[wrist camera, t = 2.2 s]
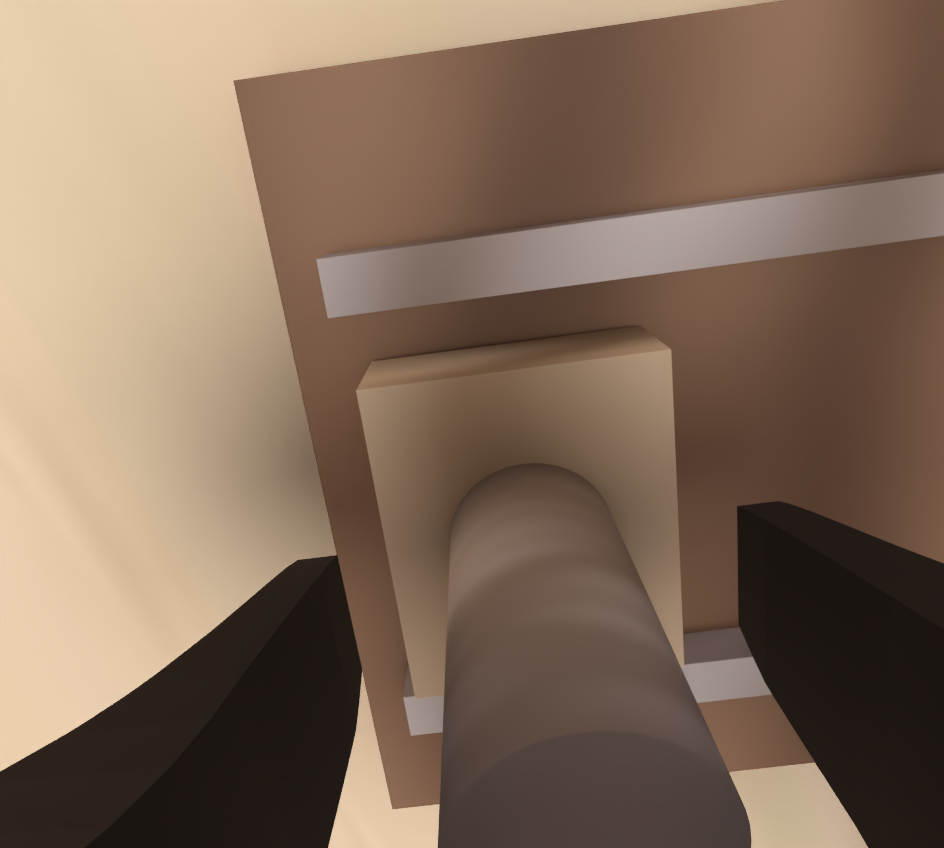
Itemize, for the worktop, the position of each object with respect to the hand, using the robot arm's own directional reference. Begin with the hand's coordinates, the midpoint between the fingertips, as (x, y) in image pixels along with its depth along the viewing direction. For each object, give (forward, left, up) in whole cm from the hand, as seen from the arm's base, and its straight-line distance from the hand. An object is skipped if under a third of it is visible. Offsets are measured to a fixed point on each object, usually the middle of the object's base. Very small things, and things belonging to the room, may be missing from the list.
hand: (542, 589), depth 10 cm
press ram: (0, 0, -4) cm, 4 cm away
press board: (-7, 0, -5) cm, 9 cm away
